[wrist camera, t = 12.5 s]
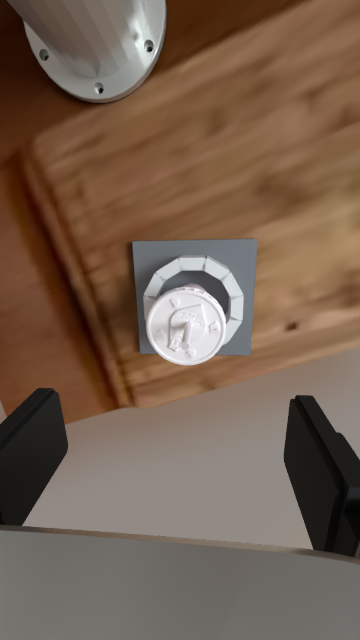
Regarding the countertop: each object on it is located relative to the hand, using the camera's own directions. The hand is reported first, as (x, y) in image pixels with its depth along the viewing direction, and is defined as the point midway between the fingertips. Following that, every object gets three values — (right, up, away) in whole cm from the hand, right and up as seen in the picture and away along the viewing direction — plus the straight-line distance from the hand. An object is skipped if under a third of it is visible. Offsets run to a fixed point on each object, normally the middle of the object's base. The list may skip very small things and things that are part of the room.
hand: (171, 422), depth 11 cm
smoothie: (+2, +6, +20) cm, 21 cm away
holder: (+2, +6, +21) cm, 22 cm away
